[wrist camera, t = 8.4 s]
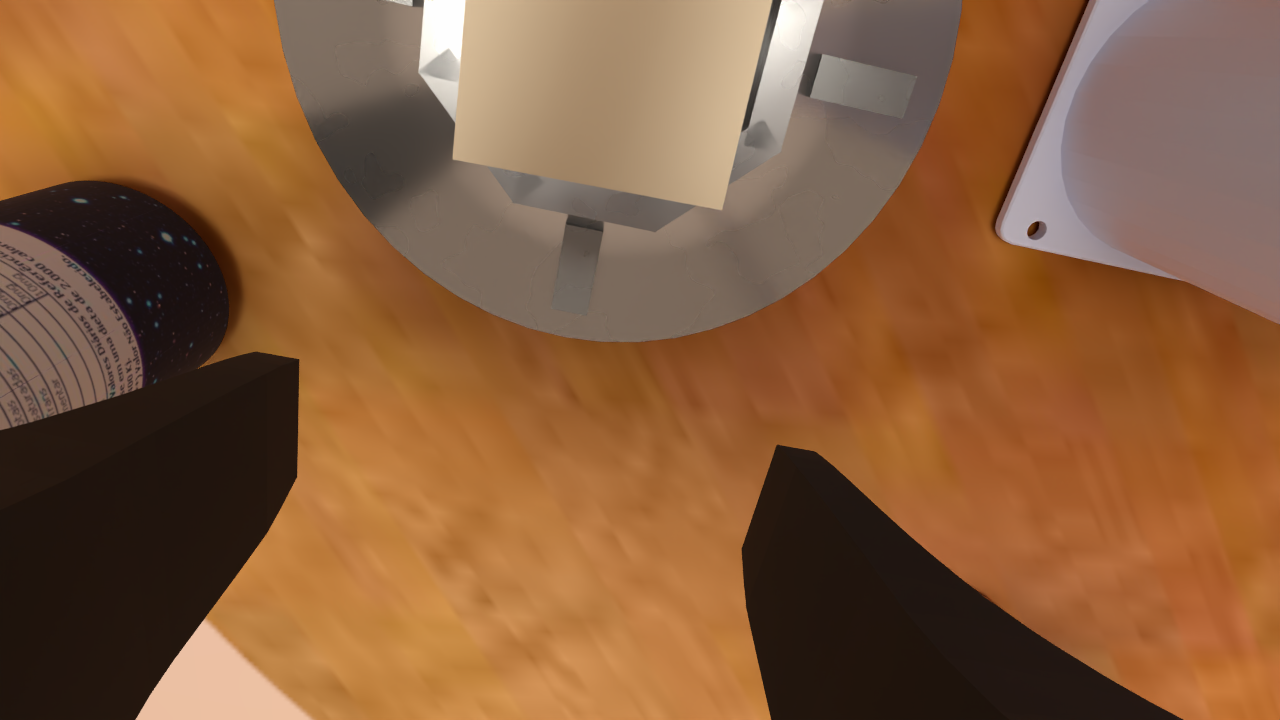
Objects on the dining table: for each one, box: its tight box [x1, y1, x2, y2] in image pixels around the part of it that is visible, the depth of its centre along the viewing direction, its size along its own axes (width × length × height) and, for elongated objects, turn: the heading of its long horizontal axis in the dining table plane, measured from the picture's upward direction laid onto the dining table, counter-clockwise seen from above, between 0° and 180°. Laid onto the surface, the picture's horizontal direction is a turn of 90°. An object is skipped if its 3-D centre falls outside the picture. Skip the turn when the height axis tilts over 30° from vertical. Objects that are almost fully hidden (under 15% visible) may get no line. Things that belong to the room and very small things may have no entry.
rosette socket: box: [274, 0, 962, 342], centre depth 16 cm, size 16×16×4 cm
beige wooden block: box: [453, 0, 772, 210], centre depth 13 cm, size 4×4×8 cm
